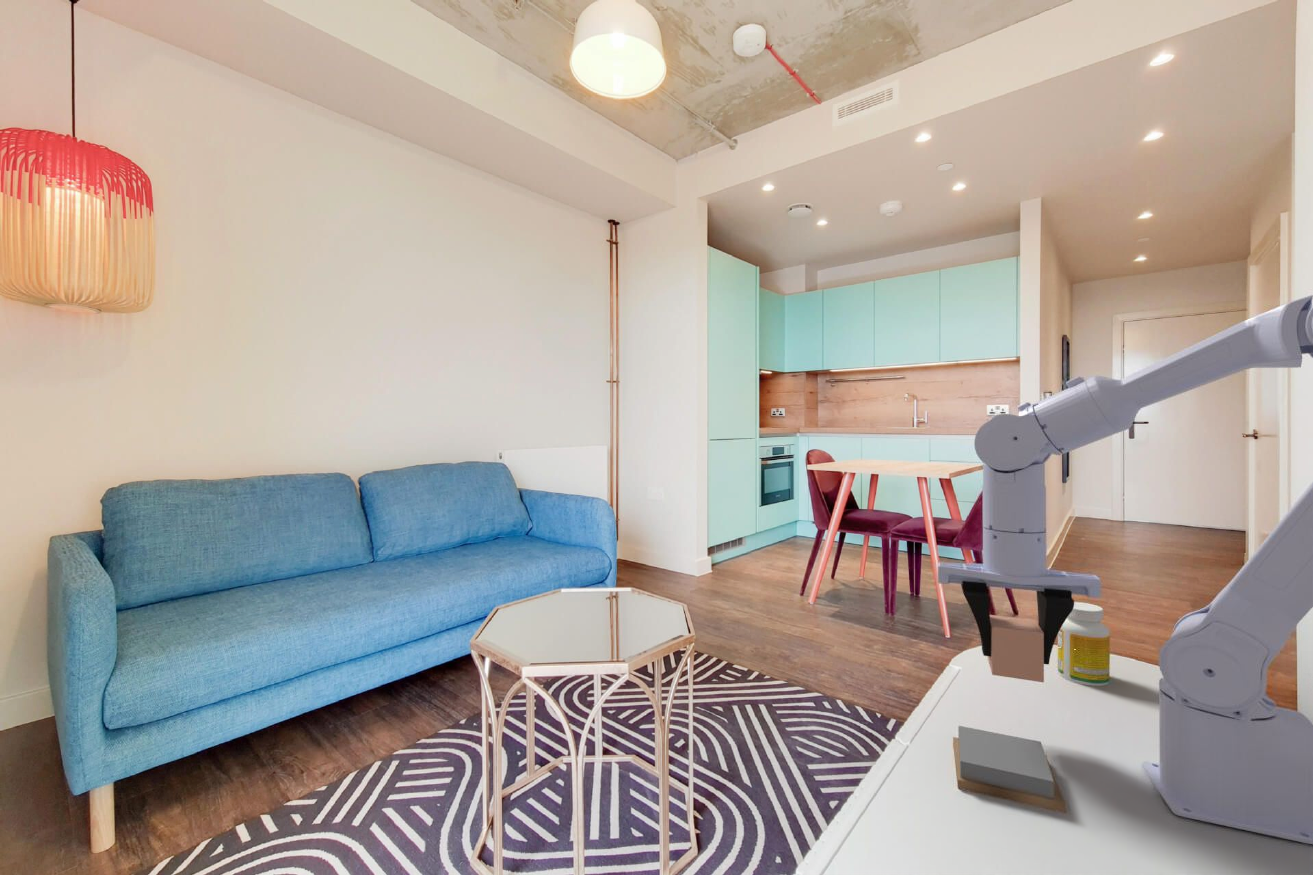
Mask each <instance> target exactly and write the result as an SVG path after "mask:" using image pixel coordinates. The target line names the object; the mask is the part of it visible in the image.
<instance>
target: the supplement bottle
mask: <svg viewBox="0 0 1313 875" xmlns="http://www.w3.org/2000/svg"><path fill="white" fill-rule="evenodd" d="M1103 619H1104V609H1103V608H1102V606H1099V605H1096V604H1092V603H1087V602H1082V601H1074V607H1073V610H1072V612H1071V613H1070V614H1069V616H1068V617H1067V619H1066V620H1065V622H1064V623H1063V625H1062V627H1061V629H1060V630H1059V632H1058V635H1057V674H1058V675H1059V676H1060V677H1061V678H1062V679H1065V680H1067V681H1068V682H1072V683H1075V684H1078V685H1083V686H1084V685H1085V686H1094V687H1100V686H1101V687H1102V686H1106V685H1108V684H1109V683H1110V672H1111V671H1110V669H1111V668H1110V667H1111V666H1110V663H1111V662H1110V660H1111V656H1110V655H1111V653H1110V652H1111V650H1110V649H1111V648H1110V646H1111V643H1110V642H1111V640H1110V638H1111V635H1110V634H1111V633H1110V629H1109V628H1108V626H1106V624H1105V623H1102V621H1103ZM1058 647H1061V648H1058ZM1074 649H1076V650H1074Z"/></svg>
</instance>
